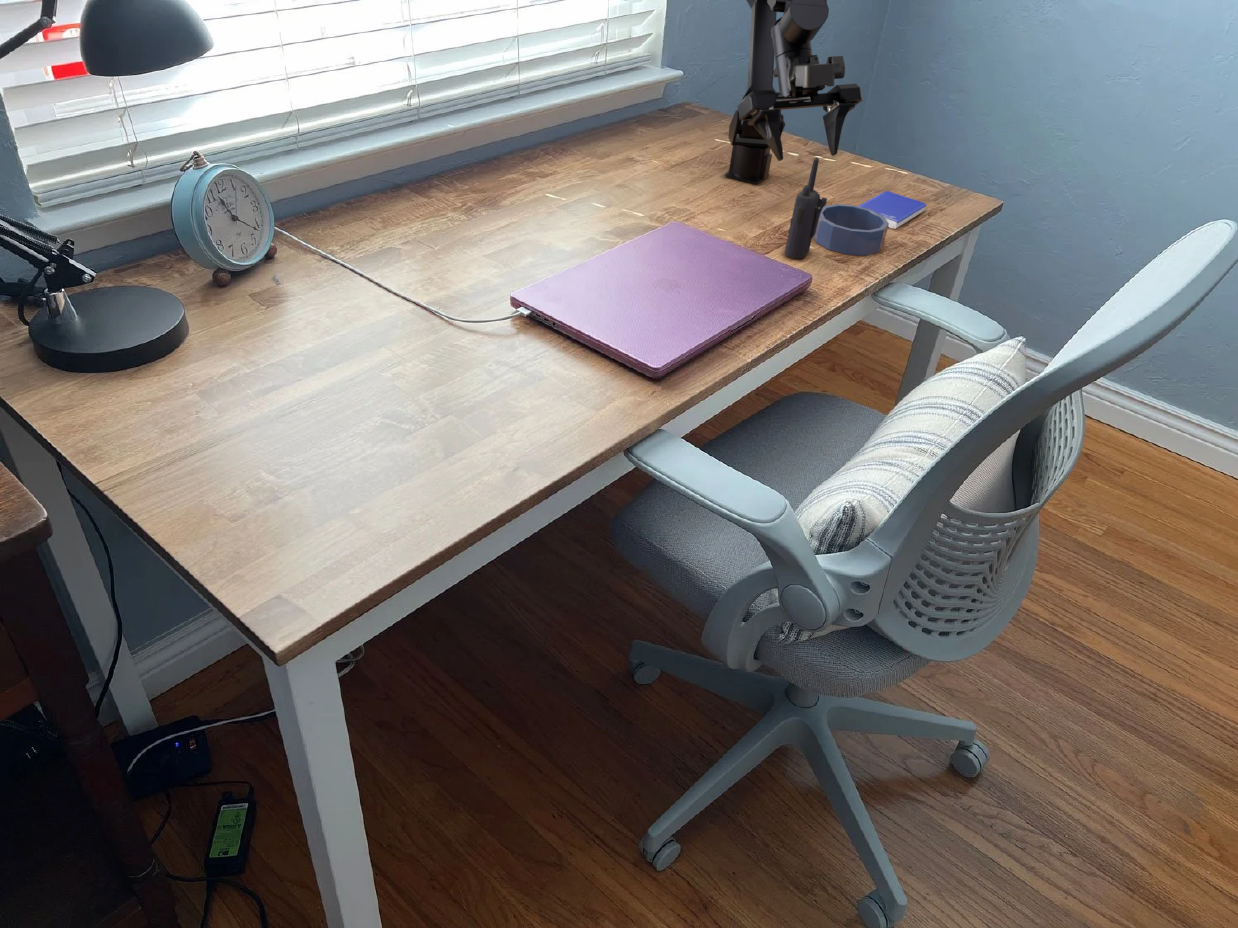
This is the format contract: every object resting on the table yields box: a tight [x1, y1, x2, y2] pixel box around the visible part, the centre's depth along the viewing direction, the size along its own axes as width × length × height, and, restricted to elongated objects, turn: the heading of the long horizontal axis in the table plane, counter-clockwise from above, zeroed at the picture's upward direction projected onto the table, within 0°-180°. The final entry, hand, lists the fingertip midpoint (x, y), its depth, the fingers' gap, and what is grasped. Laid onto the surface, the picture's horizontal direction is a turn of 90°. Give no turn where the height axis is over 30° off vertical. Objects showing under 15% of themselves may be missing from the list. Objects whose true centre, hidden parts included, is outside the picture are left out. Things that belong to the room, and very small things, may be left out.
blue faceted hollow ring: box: [813, 203, 889, 257], centre depth 155 cm, size 11×11×4 cm
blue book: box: [858, 190, 928, 230], centre depth 167 cm, size 2×8×12 cm
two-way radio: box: [784, 156, 828, 260], centre depth 145 cm, size 6×4×15 cm
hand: (807, 157), depth 148 cm, fingers open, 9 cm apart
